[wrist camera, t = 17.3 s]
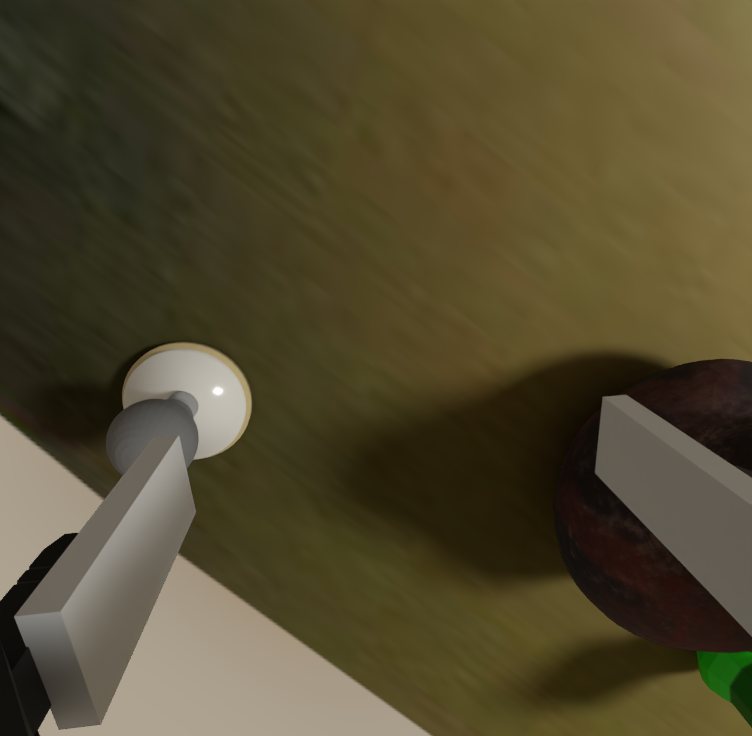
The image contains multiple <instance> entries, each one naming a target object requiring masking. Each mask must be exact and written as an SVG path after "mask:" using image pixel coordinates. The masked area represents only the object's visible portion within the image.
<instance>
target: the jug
mask: <svg viewBox="0 0 752 736" xmlns="http://www.w3.org/2000/svg"><path fill="white" fill-rule="evenodd" d="M618 395H627V396H629V397H630V398H632V399H633V400H635V401H636V402H638V403H639V404H641V405H642V406H644V407H645V408H647V409H648V410H650V411H651V412H653V413H654V414H656V415H657V416H659V417H661V418H662V419H664V420H665V421H667V422H668V423H670V424H671V425H673V426H674V427H676V428H677V429H679V430H680V431H682V432H683V433H685V434H686V435H688V436H689V437H691V438H692V439H694V440H695V441H697V442H698V443H700V444H701V445H703V446H704V447H706V448H707V449H709V450H710V451H712V452H713V453H715V454H716V455H718V456H719V457H721V458H722V459H724V460H725V461H727V462H728V463H730V464H732V465H733V466H739V467H742V468H744V469H747V470H749V471H752V362H749V361H742V360H734V359H715V360H704V361H697V362H692V363H686V364H682V365H679V366H676V367H673V368H669V369H666V370H663V371H660V372H658V373H655V374H653V375H651V376H649V377H646V378H644V379H642V380H641V381H639V382H637V383H636V384H634V385H632V386H631V387H629V388H627V389H626V390H624V391H623V392H621V393H620V394H618ZM601 408H602V407H601ZM601 408H600V409H599V410H598V411H597V412H596V413H594V414H593V415H592V416H591V417H590V418H589V419H588V420H587V421H586V422H585V424H584V425H583V426H582V427H581V429H580V430H579V431H578V432H577V434H576V435H575V437H574V439H573V442H572V444H571V446H570V448H569V450H568V452H567V454H566V457H565V459H564V462H563V465H562V467H561V470H560V473H559V476H558V480H557V485H556V489H555V494H554V517H555V527H556V533H557V539H558V544H559V548H560V552H561V555H562V558H563V561H564V563H565V565H566V567H567V569H568V571H569V573H570V575H571V577H572V578H573V580H574V581H575V583H576V585H577V586H578V587H579V589H580V590H581V591H582V592H583V593H584V594H585V596H586V597H587V598H588V599H589V600H590V601H591V602H592V603H593V604H594V605H595V606H596V607H597V608H598V609H599V610H601V611H602V612H603V613H604V614H605V615H606V616H607V617H608V618H609V619H611V620H612V621H613V622H614V623H616V624H617V625H619V626H621V627H622V628H624V629H626V630H627V631H629V632H631V633H633V634H634V635H637V636H639V637H642V638H644V639H647V640H650V641H652V642H655V643H657V644H660V645H662V646H666V647H671V648H677V649H683V650H691V651H701V652H715V653H738V652H751V653H752V636H751V635H750V634H749V633H748V632H747V631H746V630H745V629H744V628H743V627H742V626H741V625H740V624H739V623H738V622H737V621H736V620H735V619H734V617H733V616H732V615H731V614H730V613H729V612H728V611H727V610H726V609H725V608H724V607H723V606H722V605H721V604H720V603H719V602H718V601H717V600H716V599H715V598H714V597H713V596H712V595H711V594H710V592H709V591H708V590H707V589H706V588H705V587H704V586H703V585H702V584H701V583H700V582H699V581H698V580H697V579H696V578H695V577H694V576H693V575H692V574H691V573H690V572H689V571H688V570H687V568H686V567H685V566H684V565H683V564H682V563H681V562H680V561H679V560H678V559H677V558H676V557H675V556H674V555H673V554H672V553H671V552H670V551H669V550H668V549H667V548H666V547H665V546H664V544H663V543H662V542H661V541H660V540H659V539H658V538H657V537H656V536H655V535H654V534H653V533H652V532H651V531H650V530H649V529H648V528H647V527H646V526H645V525H644V524H643V523H642V522H641V521H640V519H639V518H638V517H637V516H636V515H635V514H634V513H633V512H632V511H631V510H630V509H629V508H628V507H627V506H626V505H625V504H624V503H623V502H622V501H621V500H620V499H619V498H618V497H617V495H616V494H615V493H614V492H613V491H612V490H611V489H610V488H609V487H608V486H607V485H606V484H605V483H604V482H603V481H602V480H601V479H600V478H599V477H598V476H597V475H596V474H595V467H596V457H597V447H598V437H599V428H600V418H601Z"/></svg>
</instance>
